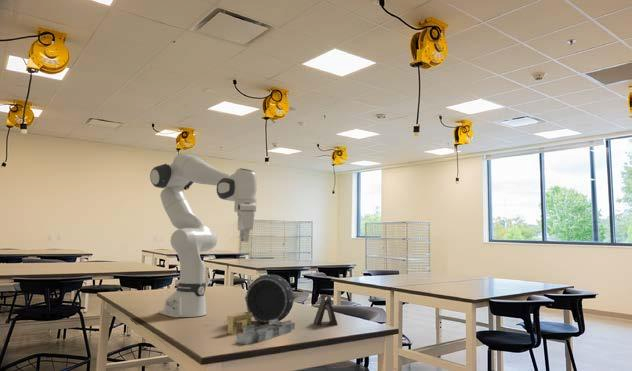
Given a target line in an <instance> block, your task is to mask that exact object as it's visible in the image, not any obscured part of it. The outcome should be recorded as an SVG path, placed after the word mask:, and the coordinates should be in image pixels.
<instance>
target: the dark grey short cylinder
mask: <svg viewBox="0 0 632 371" xmlns="http://www.w3.org/2000/svg"><path fill="white" fill-rule="evenodd" d="M294 296H295V295H294V292H293V288H292V287H291V285H290V283H289V282H288V281H287V280H286V279H285V278H283V277H282V276H280V275H277V274H264V275H262V276H259V277H257V278H255V280H253V281H252V282H251V284H250V285H248V287H247V292H246V295H245V298H244V301H245V302H246V303H245V304H246V310H247V311H246V312H251V313H252V318H253V319H254V320H255V321H257V322H260V323H263V324H264V325H265V324H269V320H272V319H276V318H278V322H281V321H282V320H284V319H285V318H286V317H287V316H288V315H289V314H290V312H291V310H292V308H293V306H294V299H295V298H294Z"/></svg>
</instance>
